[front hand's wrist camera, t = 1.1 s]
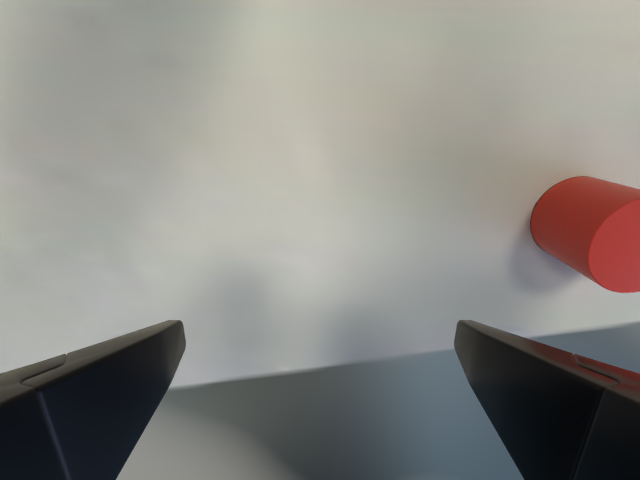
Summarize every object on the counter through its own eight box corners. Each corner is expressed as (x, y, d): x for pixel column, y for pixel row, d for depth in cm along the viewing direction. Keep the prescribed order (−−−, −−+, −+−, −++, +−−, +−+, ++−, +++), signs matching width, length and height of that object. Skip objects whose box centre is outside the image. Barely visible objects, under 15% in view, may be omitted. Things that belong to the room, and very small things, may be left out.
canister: (522, 196, 21) (579, 220, 16) (607, 162, 20) (693, 178, 16) (539, 266, 23) (596, 307, 18) (619, 237, 22) (700, 271, 17)
